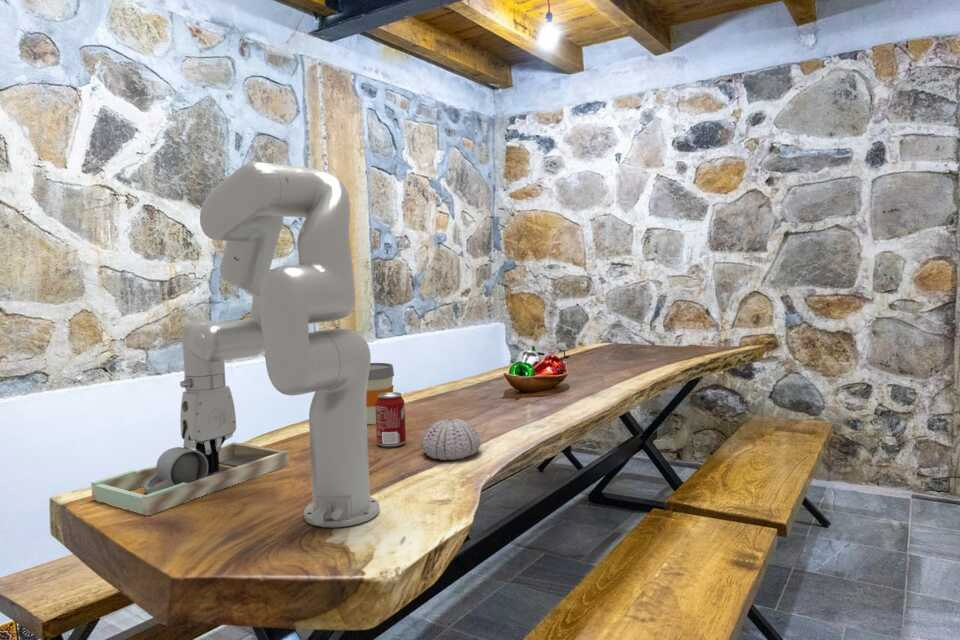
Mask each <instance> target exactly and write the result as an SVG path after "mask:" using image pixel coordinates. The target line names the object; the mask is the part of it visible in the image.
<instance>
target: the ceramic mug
mask: <svg viewBox="0 0 960 640" xmlns="http://www.w3.org/2000/svg"><path fill="white" fill-rule="evenodd" d="M156 465H157V466H156ZM156 465H155V466H156V470H157V474H156V475H154V476H153V477H152V478H150V479H149V480H148V481H147V482H146V483H145V485H144V486H143V489H144V491H145V492H146V495H147V494H150V493H153V492H156V491H159V490H162V489H165V488H168V487H171V486H174V485H177V484H180V483H183V482H184V483H190V482H193V481H196V480H199V479H202V478H205V477H208V474H207V473H208V461H207V459H206V457H205V456H204V454H203V453H201V452H200V451H197V450H196V449H187V448H184V447H182V446H179V447H178V446H177V447H173V448H172V447H171V448H169V449H167V450H165V451H164V452H163V453H162V454H161V455H160V456H159V457H158V459H157V462H156ZM160 480H162V482H161V481H160Z"/></svg>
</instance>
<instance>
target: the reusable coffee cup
mask: <svg viewBox="0 0 960 640" xmlns="http://www.w3.org/2000/svg"><path fill="white" fill-rule="evenodd" d="M394 376H395V372H394V366H393V364H392V363H388V362H387V363H386V362H370V370H369V377H368V384H367V398H366V408H367V424H372V425H376V406H375V403H376V401H377V399H378V394H381V393H386V392H394V385H393V378H394Z"/></svg>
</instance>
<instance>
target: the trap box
mask: <svg viewBox="0 0 960 640" xmlns="http://www.w3.org/2000/svg"><path fill="white" fill-rule="evenodd" d="M218 453H219V471H217V472H214V473H207V476H206V477H205V478H202V479H199V480H196V481H193V482H190V483H188V486H185V487H182V488H179V489H176V490H173V491H170V492H167V493H164V494H162V495H159V496H156V497H153V498H150V499H143V512H144V514H145V515H150V514H153V513H155V512H158V511H161V510H164V509H166V508H170V507H173V506H175V507H177V506H176V505H178V506H180V505H179V504H181V503H184V502H186V503H188V502H187V501H189V502H191V501H190V500H192V501H194V500H193V499H195V498H197V499H199V498H198V497H200V498H202V497H201V496H203V497H205V496H204V495H206V494H208V495H210V493H211V494H213V493H212V492H214V493H216V492H215V491H217V492H218V490H219V491H222V490H224V488H225V489H227V487H228V488H230V487H233V486H236V485H238V483H239V484H241V483H244V482H246V481H250V480H252V479H254V478H255V479H256V478H257V477H260V476H264V475H266V474H268V473H271V472H274V471H276V470H279V469H282V468H286V467H287V466H289V464H290V462H289V451H288V450H287V451H286V450H281V449H275V448H270V447H264V446H259V445H253V444H248V443H240V442H235V441H233V442H231V443H227V444H224V445H223V444H222V446H221V450H220V451H219V452H218ZM156 466H157V464H156V465H153V466H149V467H147V468H143V469H140V470H135V471H136V474H132V475H129V476H125V477H122V478H119V479H115V480H112V481H109V482H105V483H102V484H105V485H108V486H112V487H116V488H120V489H124V490H127V491H129V490H131V491H133V489H134V490H137V489H139V487H140V488H144V485H145V483H146V482H147V481H148V480H149V479H150V478H152V477H153V476H154V475H156V474H157V470H156ZM229 466H230V467H229ZM209 474H211V475H209ZM208 475H209V476H208ZM159 482H161V480H160V481H159ZM235 484H236V485H235ZM232 485H233V486H232ZM95 486H96V485H95ZM95 486H94V485H91V498H92V499H94V500H96V492H95ZM136 488H137V489H136ZM221 489H222V490H221ZM206 496H207V495H206ZM195 500H196V499H195ZM184 504H185V503H184ZM181 505H182V504H181ZM173 508H174V507H173ZM170 509H171V508H170ZM164 511H165V510H164ZM153 515H154V514H153Z"/></svg>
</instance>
